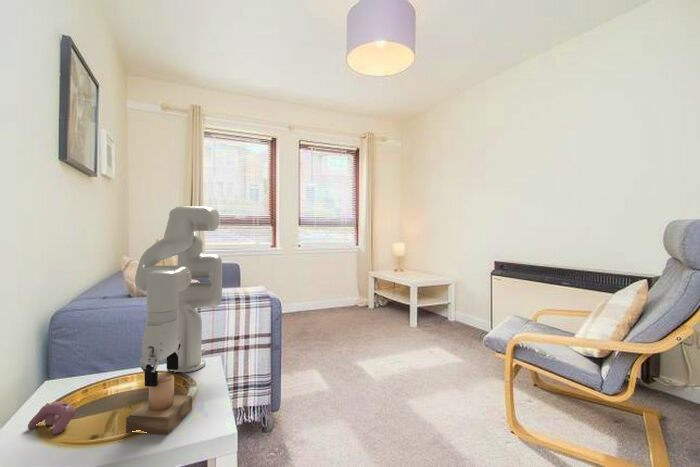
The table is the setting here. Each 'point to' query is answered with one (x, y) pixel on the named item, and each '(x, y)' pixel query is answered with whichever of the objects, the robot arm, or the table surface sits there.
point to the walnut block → (159, 417)
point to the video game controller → (54, 416)
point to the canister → (162, 393)
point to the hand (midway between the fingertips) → (162, 377)
